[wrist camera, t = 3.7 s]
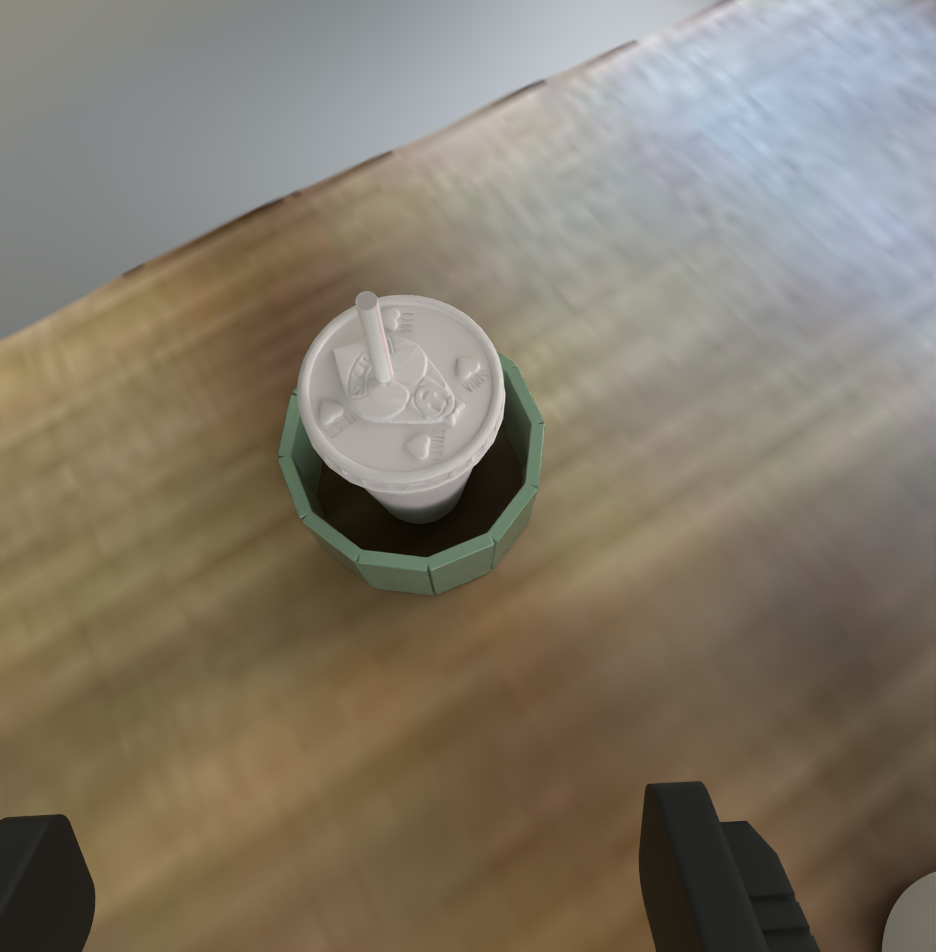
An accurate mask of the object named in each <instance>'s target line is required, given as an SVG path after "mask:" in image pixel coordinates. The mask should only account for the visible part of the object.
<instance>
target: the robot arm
mask: <svg viewBox="0 0 936 952" xmlns="http://www.w3.org/2000/svg"><path fill="white" fill-rule="evenodd" d="M639 873H640V883H641V889H642V895H643V900H644V905H645V909H646V913H647V917H648V921H649V925H650V928H651V932H652V936H653V940H654V944H655V948H656V952H820V950H819V947H818V945H817V943H816V941H815V938H814V936H811V934H810V930H809V928H810V927H809V925H808V923H807V920H806V918H805V916H804V914H803V911H802V909H801V907H800V905H799V902H796V900H795V893H794V891H793V889H792V887H791V884H790V882H789V880H788V878H787V875H786V873H785V871H784V869H783V866H782V864H781V862H780V860H779V858H778V855H777V854H776V852H775V851H774V850H773V849H772V848H771V847H770V846H769V845H768V844H767V843H766V842H765V840H764V839H763V838H762V837H761V836H760V835H759V834H758V833H757V832H756V831H755V830H754V828H753V827H752V826H751V825H750V824H749V823H748V822H747V821H735V822H719V819H718V816H717V814H716V811H715V809H714V806H713V804H712V801H711V798H710V796H709V793H708V791H707V789H706V787H705V785H704V784H703V783H702V782H701V781H691V782H673V783H655V784H647V786H646V789H645V796H644V807H643V817H642V827H641V838H640V848H639ZM94 911H95V888H94V884H93V881H92V878H91V875H90V873H89V870H88V868H87V865H86V863H85V860H84V857H83V855H82V852H81V850H80V847H79V845H78V842H77V839H76V837H75V834H74V832H73V829H72V826H71V824H70V822H69V820H68V818H67V817H66V816H64V815H61V814H57V815H39V816H21V817H7V818H4V819H2V820H0V952H82V950H83V948H84V945H85V943H86V940H87V938H88V935H89V933H90V929H91V926H92V922H93V918H94Z"/></svg>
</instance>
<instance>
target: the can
mask: <svg viewBox="0 0 936 952" xmlns="http://www.w3.org/2000/svg"><path fill="white" fill-rule="evenodd" d="M882 952H936V872H933V873H931V874H928V875H926V876H924V877H922V878H920V879H919V880H917V881H916V882H914V883H913V884H912V885H911V886H909V887H908V888H907V889H906V890H905V891H904V892H903V894H902V895H901V896H900V897H899V899H898V900H897V902H896V903H895V905H894V907H893V908H892V910H891V912H890V915H889V917H888V920H887V923H886V926H885V930H884V935H883V942H882Z"/></svg>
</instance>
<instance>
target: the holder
mask: <svg viewBox="0 0 936 952" xmlns="http://www.w3.org/2000/svg"><path fill="white" fill-rule="evenodd" d="M497 354H498V356H499V359H500V363H501V366H502V371H503V377H504V388H505V404H504V415H503V420H502V426H503V428H504V430H505V432H506V434H507V436H508V438H509V440H510V443H511V445H512V447H513V449H514V451H515V453H516V455H517V457H518V460H519V462H520V464H521V466H522V475H521V484H520V490H519V492H518V493H517V494H516V496H515V497H514V498H513V499H512V501H511V502H510V503H509V505H508V506H507V507H506V509H505V510H504V511H503V512H502V514H501V515H500V516H499V518H498V519H497V520H496V522H495V523H494V524H493V525H492V527H491V528H490V529H489V531H488V532H487V533H485V534H482V535H480V536H478V537H475V538H473V539H470V540H468V541H465V542H463V543H461V544H458V545H456V546H453V547H451V548H448V549H446V550H444V551H441V552H439V553H436V554H434V555H432V556H429V557H419V556H411V555H402V554H394V553H386V552H378V551H370V550H362V549H361V548H359V547H358V546H357V545H355V544H354V543H353V542H351V541H350V540H349V539H348V538H346V537H345V536H344V535H342V534H341V533H340V532H338V531H337V530H336V529H334V528H333V527H332V526H331V525H329V524H328V523H327V520H326V518H325V515H324V513H323V510H322V507H321V505H320V502H319V499H318V497H317V491H318V486H319V481H320V476H321V471H322V466H323V459H322V458H321V457H320V456H319V454H318V453H317V452H316V450H315V449H314V448H313V447H312V444H311V442H310V439H309V437H308V434H307V432H306V429H305V427H304V425H303V422H302V419H301V415H300V412H299V406H298V398H297V387H296V388H295V389H294V390H293V394H294V395H291V396H290V399H289V403H288V408H287V413H286V417H285V422H284V427H283V431H282V436H281V441H280V446H279V450H278V456H279V459H278V462H279V465H280V467H281V470H282V473H283V475H284V478H285V481H286V484H287V486H288V489H289V492H290V495H291V497H292V500H293V503H294V505H295V508H296V511H297V514H298V516H299V518H300V519H301V521H302V522H303V523H304V525H305V526H306V527H307V528H308V530H309V531H310V532H311V533H312V535H313V536H314V537H315V538H316V540H317V541H318V542H319V543H320V545H321V546H322V547H323V548H324V550H325V551H326V552H327V553H328V554H329V555H331V556H332V557H333V558H334V559H336V560H337V561H338V562H340V563H341V564H342V565H343V566H345V567H346V568H347V569H349V570H350V571H351V572H353V573H354V574H355V575H356V576H358V577H359V578H360V579H362V580H363V581H364V582H365V583H367V584H368V585H369V586H374V588H377V589H385V590H393V591H401V592H409V593H417V594H425V595H433V593H434V592H435V594H436V595H437V594H440V593H442V592H445V591H447V590H449V589H452V588H454V587H456V586H459V585H461V584H464V583H466V582H468V581H471V580H473V579H476V578H478V577H480V576H483V575H485V574H487V573H490V570H491V569H492V570H493V569H494V568H495V567H496V566H497V564H498V563H499V562H500V560H501V559H502V558H503V557H504V555H505V554H506V553H507V551H508V550H509V549H510V547H511V546H512V545H513V543H514V542H515V541H516V539H517V538H518V537H519V535H520V534H521V533H522V531H523V530H524V529H525V527H526V526H527V523H528V521H529V518H530V515H531V511H532V508H533V504H534V501H535V497H536V494H537V490H538V487H539V480H540V470H541V460H542V451H543V441H544V431H545V424H543V423H544V419H543V417H542V415H541V413H540V411H539V409H538V407H537V405H536V403H535V401H534V398H533V396H532V394H531V392H530V390H529V388H528V386H527V384H526V382H525V380H524V378H523V376H522V374H521V372H520V370H519V368H518V367H515V363H514V362H512V361H511V360H509V359H508V358H506V357H505V356H503V355H502V354H500V353H499V352H497Z"/></svg>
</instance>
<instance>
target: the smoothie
mask: <svg viewBox="0 0 936 952" xmlns="http://www.w3.org/2000/svg"><path fill="white" fill-rule="evenodd" d="M297 398H298V406H299V412H300V415H301V419H302V422H303V425H304V427H305V429H306V432H307V434H308V437H309V439H310V442H311V444H312V447H313V448H314V449H315V450H316V452H317V453H318V454H319V456H320V457H321V458H322V459H323V461H324V462H325V463H326V464H327V466H328V467H329V468H331V469H332V470H334V471H335V472H336V473H338V474H339V475H341V476H342V477H343V478H345V479H346V480H348V481H349V482H350V483H353V484H356V485H358V486H361V487H364V488H365V489H366V490H367V491H368V492H369V493H370V494H371V495H372V496H373V497H374V498H375V499H376V500H377V501H378V502H379V503H380V504H381V505H382V506H383V507H384V508H385V509H386V510H387V511H388V512H389V513H390V514H392V515H393V516H394V517H396V518H398V519H400V520H402V521H405V522H408V523H413V524H425V523H430V522H434V521H436V520H439V519H441V518H442V517H444V516H446V515H447V514H448V513H449V512H451V511H452V509H453V508H454V507H455V506H456V504H457V503H458V501H459V499H460V497H461V495H462V492H463V490H464V488H465V485H466V483H467V480H468V478H469V476H470V473H471V471H472V468H473V466H475V465H476V464H477V463H478V462H479V461H480V460H481V458H482V457H483V456H484V454H485V453H486V452H487V450H488V449H489V448H490V446H491V445H492V444H493V443H494V440H495V438H496V435H497V433H498V430H499V428H500V425H501V423H502V420H503V415H504V404H505V388H504V377H503V371H502V366H501V363H500V359H499V356H498V354H497V351H496V349H495V347H494V346H493V344H492V342H491V340H490V339H489V337H488V336H487V334H486V333H485V332H484V331H483V330H482V328H481V327H480V326H479V325H478V324H477V323H476V322H475V321H474V320H472V319H471V318H470V317H469V316H467V315H466V314H465V313H463V312H462V311H460V310H458V309H457V308H455V307H453V306H451V305H449V304H446V303H444V302H442V301H439V300H435V299H432V298H428V297H423V296H416V295H391V296H384V297H379V298H377V296H376V295H375V294H374V293H372V292H369V291H366V292H362V293H360V294H359V295H358V296H357V298H356V305H355V306H353V307H352V308H350V309H348V310H346V311H344V312H343V313H341V314H340V315H338V316H337V317H336V318H334V319H333V320H332V321H331V322H330V323H329V324H327V325H326V326H325V327H324V328H323V330H322V331H321V332H320V333H319V334H318V335H317V337H316V338H315V339H314V341H313V342H312V344H311V345H310V347H309V349H308V351H307V353H306V355H305V357H304V360H303V362H302V365H301V368H300V373H299V377H298V385H297Z"/></svg>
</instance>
